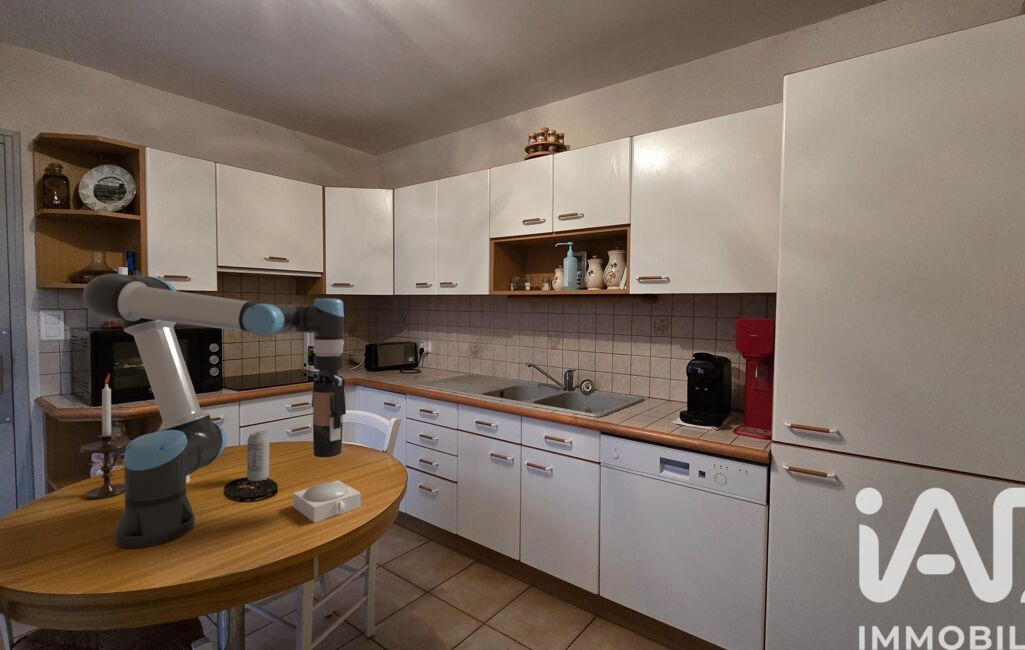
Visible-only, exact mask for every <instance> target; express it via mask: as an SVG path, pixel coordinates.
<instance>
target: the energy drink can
mask: <svg viewBox="0 0 1025 650" xmlns="http://www.w3.org/2000/svg"><path fill="white" fill-rule="evenodd" d="M246 446H247V449H246V450H247V456H246V457H247V461H246V463H247V468H246V469H247V470H246V473H247V475H246V476H247V479H246V480H248V481H249V480H250V481H262V480H265V481H266V480H268V477H269V476H270V436H269V435H268V431H265V430H258V431H253V432H249V436H248V438H247V445H246ZM250 481H249V482H250ZM262 482H263V481H262Z"/></svg>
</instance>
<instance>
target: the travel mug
mask: <svg viewBox="0 0 1025 650" xmlns="http://www.w3.org/2000/svg"><path fill="white" fill-rule="evenodd" d="M313 383H314V382H313ZM333 386H334V385H333V383H331V384H324V383H322V384H319V383H318V381H316V382H315V383H314V395H313V394H312V395H313V407H312V408H313V409H312V435H313V436H312V437H313V438H312V439H313V441H312V443H313V456H315V457H316V458H332V457H336V456H339V455H341V453H342V447H343V427H344V425H343V423H344V422H343V421H344V415H342V416H341V439H339V440H335V441H330V417H329V416H330V415H332V414H331V408H330V394H331V395H333V396H334V389H333Z"/></svg>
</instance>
